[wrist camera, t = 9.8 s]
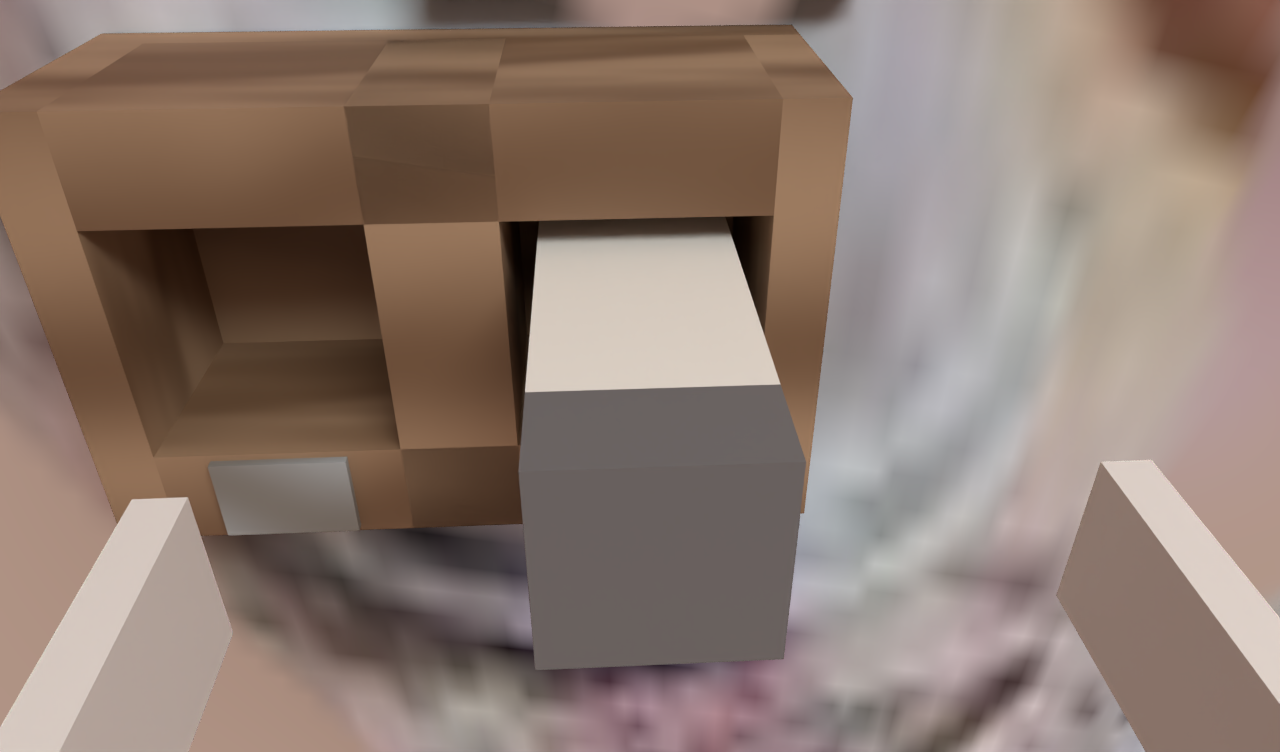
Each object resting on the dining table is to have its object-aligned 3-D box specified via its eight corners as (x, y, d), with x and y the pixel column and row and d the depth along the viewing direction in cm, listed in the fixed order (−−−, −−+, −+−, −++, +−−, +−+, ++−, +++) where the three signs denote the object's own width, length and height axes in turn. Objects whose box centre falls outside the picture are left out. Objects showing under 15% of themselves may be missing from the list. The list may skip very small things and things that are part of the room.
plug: (543, 166, 23) (518, 471, 13) (707, 163, 24) (806, 461, 13) (551, 311, 26) (535, 670, 15) (701, 307, 26) (784, 659, 16)
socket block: (101, 33, 22) (-46, 116, 17) (791, 24, 23) (855, 101, 18) (208, 402, 28) (121, 551, 22) (762, 385, 28) (804, 525, 23)
